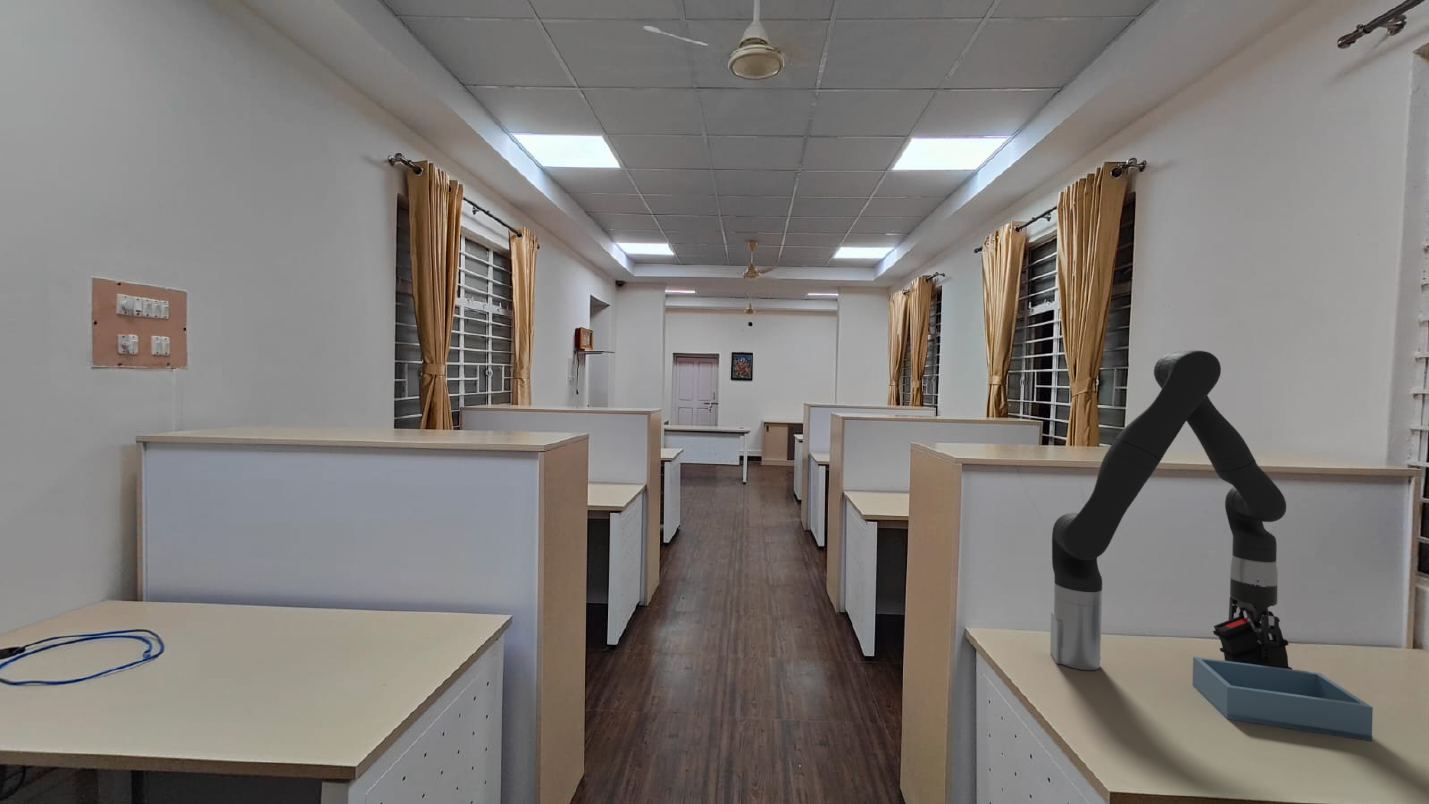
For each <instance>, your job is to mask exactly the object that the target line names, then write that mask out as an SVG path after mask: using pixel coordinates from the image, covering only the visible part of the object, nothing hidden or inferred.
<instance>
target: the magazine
mask: <svg viewBox="0 0 1429 804" xmlns="http://www.w3.org/2000/svg"><path fill="white" fill-rule="evenodd" d="M1268 612H1269V615H1270V616H1275V615H1274V613H1273V612H1272V611H1271V610H1268ZM1278 619H1279V623H1280V622H1281V620H1280V618H1279V617H1278ZM1213 628H1214V630H1213V631H1212V633H1213V635H1214V636H1216V637H1218V639H1219V641H1220V643H1221V646H1222V647H1220V648H1219V652H1221V653H1223V656H1224V661H1231V662H1239V663H1247V664H1254V665H1262V666H1270V667H1277V668H1285V669H1293V668H1292V667H1291V666H1289V658H1288V656H1289V655H1288V651H1287V649H1286V648H1287V647H1286V646H1290V645H1289V641H1288V640H1287V639H1285V638H1284V636H1283V633H1282V630H1281V627H1280V626H1279V646H1278V647H1277V646H1271V663H1269V664H1266V663H1260V662H1258V661H1257V660H1256V644H1257V642H1256V639H1255V636H1254V634H1253V633H1251V632H1250V629H1249V625H1248V622H1247V620H1246V619H1245V618H1244V615H1241V616H1239V617H1236V618H1233V619H1231V620H1229V619H1228V620H1226V621H1224V622H1221V623H1218V624H1215V625H1213ZM1260 636H1261V634H1260ZM1271 636H1272V639H1273V634H1271Z"/></svg>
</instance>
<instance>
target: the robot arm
mask: <svg viewBox="0 0 1429 804" xmlns="http://www.w3.org/2000/svg"><path fill="white" fill-rule="evenodd" d="M1221 373H1222V367H1221V363H1220V361H1219V359H1218V358H1217V356H1215V355H1214V354H1212V353H1211V352H1209V351H1205V350H1184V351H1182V350H1181V351H1174V352H1169V353H1166V354H1164V355H1163V356H1161V357H1160V358H1159V359H1158V360H1157V361H1156V363H1155V365H1154V368H1153V376H1154V379H1155V381H1156V383H1157V384H1158V386H1159V387H1160V388H1161V389H1160V391H1159V393H1158V394H1157V396H1156V398H1155V399H1154V401H1152V403H1151V404H1150V405H1149V406H1148V407H1147V408H1146V409H1145V410H1144V411H1143V412H1141V413H1140V414H1139V415H1138V416H1137V417H1135V418H1134V419H1133V420H1132V421H1131V422H1130V423H1128V424H1127V425H1126V426H1125V427H1124V428H1123V429H1122V430H1121V431H1120V432H1119V434H1118V435H1117V436H1116V438H1115V439H1114V440H1113V442H1112V444H1111V445H1110V447H1109V448H1108V450H1107V452H1105V454H1104V457H1103V458H1102V462H1101V465H1100V467H1099V471H1098V473H1097V478H1096V481H1095V485H1094V488H1093V491H1092V493H1091V495H1090V497H1089V498H1088V500H1087V501H1086V502H1085V504H1084V505H1083V507H1081V509H1080V511H1079V512H1069V513H1065V514H1063V515H1061V516H1060V517H1058V518H1057V519H1056V521H1055V522H1054V524H1053V528H1052V532H1051V533H1052V534H1051V556H1052V557H1051V564H1052V570H1053V575H1054V581H1053V582H1054V588H1053V589H1054V591H1053V593H1054V594H1053V612H1051V614H1050V645H1049V646H1050V647H1049V648H1050V650H1049V653H1050V655H1051V657H1052V658H1053V660H1054V662H1055V664H1058V665H1059V664H1060V665H1062V666H1063V665H1064V666H1066V667H1069V668H1072V669H1076V670H1083V671H1096V670H1099V669H1100V668H1101V661H1102V660H1101V659H1102V658H1101V657H1102V656H1101V645H1102V644H1101V643H1102V609H1103V608H1102V607H1103V606H1102V605H1103V578H1102V576H1101V575H1102V574H1101V571H1100V569H1099V566H1098V558H1099V557H1100V556H1101V555H1102V554H1104V553H1105V552H1106V550H1107V548H1108V547H1109V546H1110V544H1111V541H1112V540H1113V537H1114V535H1115V534H1116V531H1117V529H1118V527H1119V525H1120V524H1121V521H1122V520H1123V518H1124V515H1125V514H1126V512H1127V511H1128V509H1129V507H1130V506H1131V505H1132V503H1133V502H1134V501H1135V499H1136V498H1137V497H1138V494H1139V493H1140V492H1141V490H1142V489H1143V487H1144V485H1145V484H1146V483H1147V481H1148V480H1149V478H1150V477H1151V476H1152V475H1153V473H1154V471H1155V470H1156V469H1157V468H1158V465H1159V464H1160V463H1161V461H1162V460H1163V457H1164V455H1165V454H1166V453H1167V451H1168V449H1169V448H1170V446H1171V445H1172V444H1173V442H1174V440H1176V437H1177V436H1178V434H1179V433H1180V432H1181V429H1182V428H1183V426H1184V425H1185V423H1186V422H1187V424H1188V426H1189V427H1190V428H1191V430H1192V432H1193V434H1194V435H1195V436H1196V438H1197V440H1198V441H1199V443H1200V445H1201V447H1202V449H1203V450H1204V452H1205V454H1206V456H1207V458H1208V459H1209V461H1210V463H1211V465H1212V467H1213V469H1214V471H1215V472H1216V474H1217V476H1218V477H1219V478H1220V479H1221V480H1223V481H1224V482H1227V483H1228V484H1230V485H1231V486H1233V487H1231V488H1230V490H1229V491H1228V492H1227V494H1226V496H1225V500H1224V506H1225V513H1226V514H1225V515H1226V517H1227V521H1228V524H1229V525H1228V526H1229V528H1230V531H1231V534H1232V550H1231V551H1232V552H1231V553H1232V555H1231V556H1232V557H1231V561H1230V573H1229V574H1230V576H1229V577H1230V579H1229V580H1230V583H1229V584H1230V586H1229V589H1230V590H1229V596H1230V597H1229V604H1228V605H1229V609H1228V620H1231V619H1233V618H1236V617H1239V616H1241V615H1244V618H1245V619H1246V620H1247V622H1248V625H1249V629H1250V632H1251V633H1253V634H1254V636H1255V639H1256V642H1257V644H1256V660H1257V661H1258V662H1260V663H1266V664H1269V663H1271V646H1277V647H1278V646H1279V627H1280V622H1279V620H1280V618H1279V617H1278V616H1275V615H1274V616H1270V615H1269V612H1268V611H1269V608H1270V607H1275V606H1276V605H1277V604H1278V581H1279V579H1278V578H1279V577H1278V576H1279V572H1278V565H1277V545H1278V544H1277V539H1276V536H1275V535H1273V534H1272V533H1271V532H1270V531H1267V529H1266V528H1265V526H1264V523H1273V522H1277V521H1279V520H1281V519H1282V518H1283V517H1284V516H1285V514H1286V512H1287V501H1286V499H1285V497H1284V495H1283V493H1282V491H1281V490H1280V488H1279V487H1278V486H1277V485H1276V484H1275V483H1274V482H1273V480H1272V479H1271V478H1270V477H1269V476H1268V474H1266V472H1265V471H1263V470H1262V468H1261V467H1260V466H1259V465H1258V463H1257V461H1256V459H1255V458H1254V455H1253V454H1252V452H1251V450H1250V448H1249V446H1248V444H1247V443H1246V441H1245V439H1244V438H1243V436H1242V435H1241V434H1240V432H1239V431H1238V430H1237V429H1236V428H1235V427H1234V426H1233V424H1231V423H1230V421H1228V420H1227V419H1226V417H1224V416H1223V414H1221V412H1220V411H1219V410H1218V409H1217V408H1216V407H1215V405H1214V403H1213V402H1212V400H1211V399H1210V397H1209V396H1208V395H1209V394H1210V393H1211V391H1212V390H1213V389H1214V387H1216V384H1217V383H1218V382H1219V379H1220V377H1221ZM1263 522H1264V523H1263ZM1278 618H1279V619H1278ZM1260 634H1261V636H1260ZM1271 634H1273V639H1272V636H1271Z"/></svg>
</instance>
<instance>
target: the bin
mask: <svg viewBox="0 0 1429 804" xmlns="http://www.w3.org/2000/svg"><path fill="white" fill-rule="evenodd" d="M1191 684H1192V686H1193V687H1194V688H1195V689H1196V690H1197V691H1198V692H1199V693H1200V694H1201V696H1203V697H1204V698H1205V699H1206V700H1207V701H1208V702H1209V703H1210V704H1211V706H1213V707H1214V708H1215V709H1216V710H1217V711H1218V712H1219V714H1221V715H1222V716H1223V717H1224V718H1225V719H1226V720H1231V721H1238V722H1244V723H1245V722H1246V723H1251V724H1256V725H1257V724H1258V725H1264V726H1270V727H1275V728H1276V727H1277V728H1284V729H1290V730H1296V731H1303V732H1309V733H1315V734H1320V735H1321V734H1322V735H1329V736H1334V737H1335V736H1336V737H1341V738H1342V737H1343V738H1348V739H1354V740H1361V741H1367V742H1372V741H1373V709H1374V707H1373V706H1372V705H1370V704H1368V703H1367V702H1365V701H1364V700H1362V699H1361V698H1359V697H1357V696H1356V695H1354V694H1353V693H1351V692H1350V691H1349V690H1347V689H1345V688H1344V687H1342V686H1341V685H1339V684H1337V683H1336V682H1334V681H1333V680H1331V679H1330V678H1329V677H1326V676H1325V675H1324V674H1322V673H1321V672H1315V671H1307V670H1301V669H1300V670H1299V669H1293V668H1292V669H1285V668H1277V667H1270V666H1262V665H1254V664H1247V663H1239V662H1231V661H1225V660H1224V659H1222V660H1221V659H1213V658H1207V657H1199V656H1193V657H1192V683H1191Z"/></svg>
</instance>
